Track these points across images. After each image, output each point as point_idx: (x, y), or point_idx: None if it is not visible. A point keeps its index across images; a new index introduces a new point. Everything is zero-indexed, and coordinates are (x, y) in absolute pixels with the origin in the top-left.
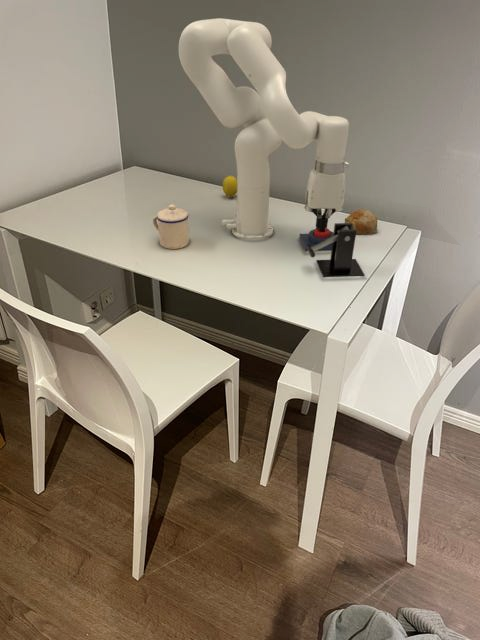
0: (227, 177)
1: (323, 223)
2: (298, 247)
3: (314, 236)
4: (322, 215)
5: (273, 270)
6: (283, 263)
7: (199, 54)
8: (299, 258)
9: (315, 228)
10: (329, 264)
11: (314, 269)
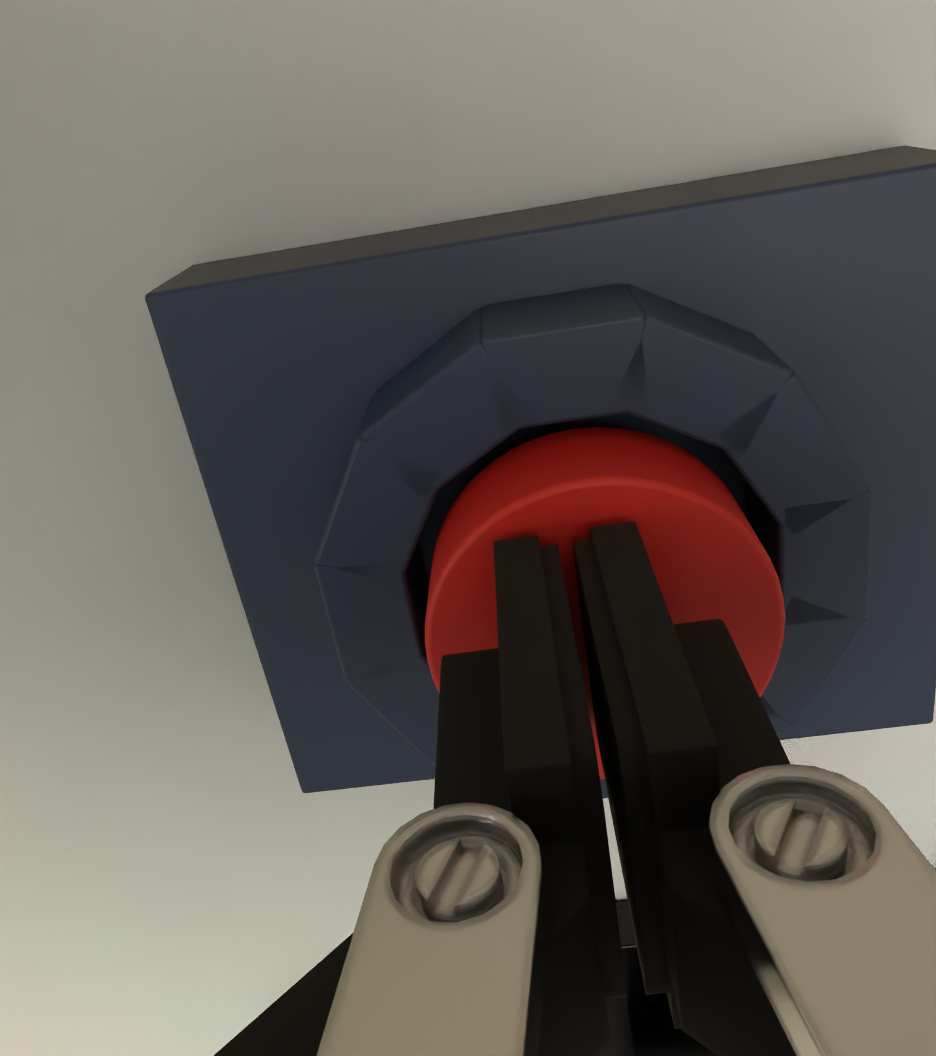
0: None
1: (629, 902)
2: (211, 530)
3: (435, 706)
4: (649, 760)
5: (14, 1038)
6: (86, 924)
7: None
8: (261, 817)
9: (451, 569)
10: (619, 1032)
11: None
